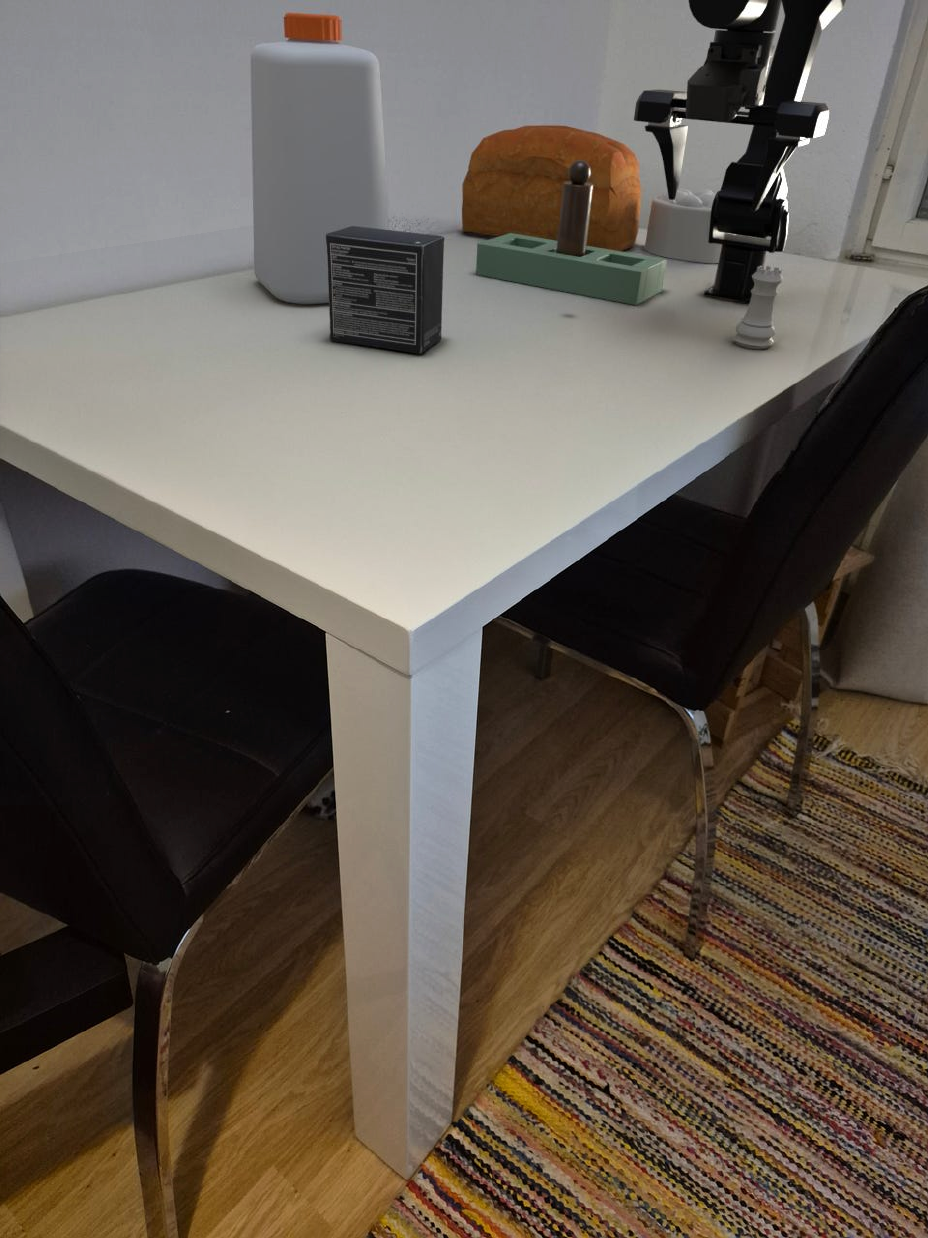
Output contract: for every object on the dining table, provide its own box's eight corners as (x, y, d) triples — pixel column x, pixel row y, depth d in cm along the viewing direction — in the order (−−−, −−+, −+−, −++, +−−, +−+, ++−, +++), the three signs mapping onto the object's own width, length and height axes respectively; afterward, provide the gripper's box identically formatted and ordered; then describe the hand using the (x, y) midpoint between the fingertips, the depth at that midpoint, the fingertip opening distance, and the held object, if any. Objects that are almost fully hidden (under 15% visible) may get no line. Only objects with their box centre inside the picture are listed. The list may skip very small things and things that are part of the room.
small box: (444, 338, 93) (448, 233, 88) (422, 356, 88) (424, 245, 82) (354, 325, 96) (351, 222, 90) (327, 341, 91) (323, 232, 85)
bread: (496, 220, 151) (502, 114, 142) (643, 242, 141) (660, 130, 132) (450, 234, 139) (454, 120, 130) (608, 260, 129) (624, 138, 120)
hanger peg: (575, 278, 118) (589, 158, 110) (585, 286, 115) (600, 162, 107) (549, 279, 118) (561, 157, 109) (558, 286, 115) (571, 161, 106)
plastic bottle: (360, 270, 116) (356, 15, 101) (403, 300, 105) (405, 19, 90) (248, 277, 111) (224, 8, 95) (280, 309, 100) (260, 11, 84)
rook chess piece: (775, 341, 98) (794, 267, 94) (769, 352, 95) (788, 275, 90) (735, 335, 100) (751, 261, 95) (728, 345, 96) (744, 269, 92)
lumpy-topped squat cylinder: (718, 265, 129) (731, 201, 125) (634, 252, 134) (644, 190, 129) (735, 253, 137) (748, 192, 132) (656, 241, 142) (665, 182, 137)
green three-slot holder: (508, 262, 124) (510, 232, 122) (662, 291, 115) (667, 259, 113) (475, 274, 118) (477, 242, 116) (636, 305, 108) (641, 271, 106)
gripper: (625, 24, 84) (603, 202, 93) (824, 34, 76) (779, 227, 85) (665, 27, 92) (642, 190, 101) (849, 36, 84) (806, 212, 93)
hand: (712, 204), depth 95 cm, fingers open, 9 cm apart
